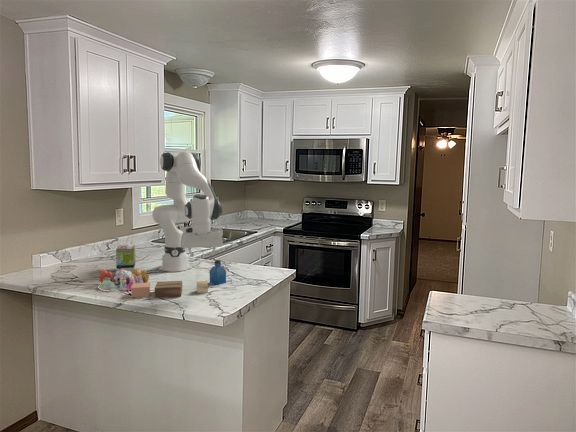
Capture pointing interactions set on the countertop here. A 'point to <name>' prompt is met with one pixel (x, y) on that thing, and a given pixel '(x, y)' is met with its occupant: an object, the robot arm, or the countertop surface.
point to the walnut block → (168, 289)
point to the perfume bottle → (217, 273)
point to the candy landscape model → (122, 279)
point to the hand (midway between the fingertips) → (202, 256)
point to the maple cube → (202, 286)
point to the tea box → (125, 258)
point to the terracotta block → (140, 290)
